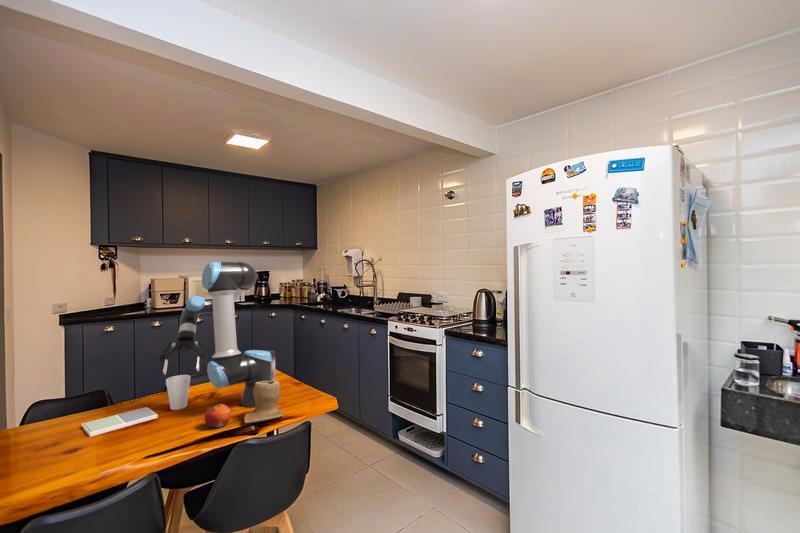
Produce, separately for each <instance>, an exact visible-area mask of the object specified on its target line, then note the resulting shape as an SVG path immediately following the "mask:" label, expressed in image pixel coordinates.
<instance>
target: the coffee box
mask: <svg viewBox="0 0 800 533" xmlns="http://www.w3.org/2000/svg"><path fill="white" fill-rule="evenodd" d="M267 351H268V352H270V354H271V360H272V362H271V369H272V381H276V351H274V350H271V349H270V350H267Z"/></svg>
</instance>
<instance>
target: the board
mask: <svg viewBox="0 0 800 533" xmlns="http://www.w3.org/2000/svg"><path fill="white" fill-rule="evenodd" d="M158 418H159V414H157V413H156V412H154V411H153V410H152V409H150V408H149V407H147V406H146V407H142V408H138V409H134V410H130V411H126V412H123V413H118V414H115V415H110V416H107V417H104V418H103V417H102V418H99V419H95V420H91V421H88V422H83V423H81V428H82V427H83V428H82V429H83V430H84V431H85V433H86V434H87V435H88V437H94V436H98V435H101V434H105V433H108V432H111V431H112V432H113V431H116V430H118V429H123V428H126V427H129V426H133V425H136V424H140V423H144V422H147V421H152V420H154V419H158Z"/></svg>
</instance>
